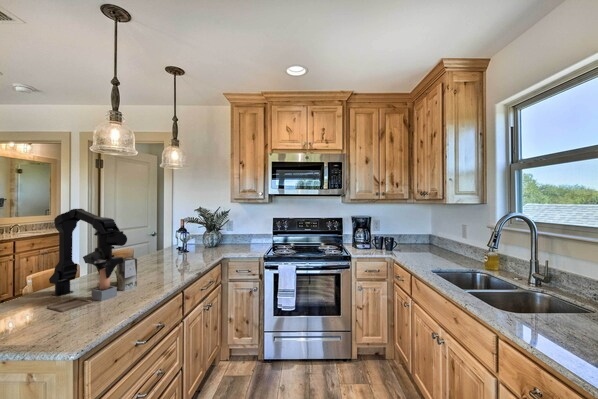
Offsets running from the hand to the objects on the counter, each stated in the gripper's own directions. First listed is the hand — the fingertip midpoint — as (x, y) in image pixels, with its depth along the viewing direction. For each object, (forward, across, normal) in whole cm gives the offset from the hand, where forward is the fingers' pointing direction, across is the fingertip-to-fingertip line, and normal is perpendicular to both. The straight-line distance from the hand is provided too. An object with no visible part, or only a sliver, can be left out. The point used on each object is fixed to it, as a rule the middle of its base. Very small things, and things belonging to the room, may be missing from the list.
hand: (104, 277), depth 128 cm
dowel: (+6, 0, 0) cm, 6 cm away
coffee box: (+10, -4, +14) cm, 18 cm away
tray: (+10, -4, -12) cm, 16 cm away
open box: (+10, 0, 0) cm, 10 cm away
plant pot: (+10, -13, +19) cm, 25 cm away
